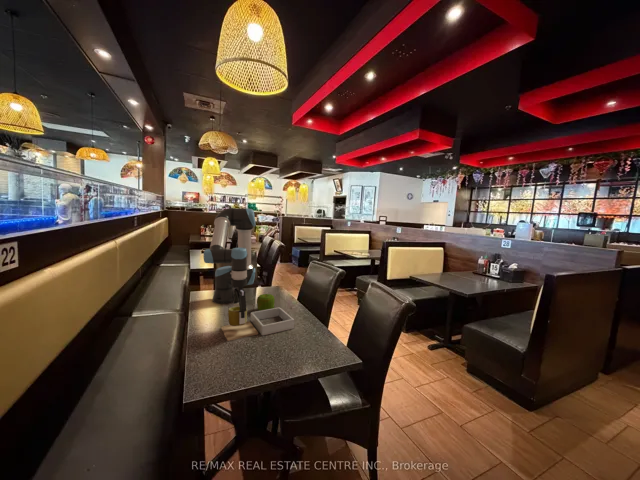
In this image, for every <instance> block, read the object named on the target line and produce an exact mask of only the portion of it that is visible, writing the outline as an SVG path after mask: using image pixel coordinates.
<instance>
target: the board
mask: <svg viewBox="0 0 640 480" xmlns="http://www.w3.org/2000/svg"><path fill="white" fill-rule="evenodd" d="M220 327H221V331H222V332H223V335H224V337H225V339H226V341H227V342H229V341H235V340H238V339H242V338H247V337H251V336H255V335H258V334H259V331H258V330H257V328H256V327H255V326H254V324H253V323H252V322H251V320H247V322H246V324H245V325H240V326H231V325H230V324H227V325H223V326H220Z"/></svg>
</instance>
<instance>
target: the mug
mask: <svg viewBox="0 0 640 480" xmlns="http://www.w3.org/2000/svg"><path fill="white" fill-rule="evenodd" d="M246 309H247V311H245V323H244V324H239V311H240V307H239V306H237V307H234V306H232V307H229V308H228V313H227V315H228V325H231V326H240V325H245V324H246V322H247V321H248V320H247V317H248V315H247V314H248V307H247V306H246Z"/></svg>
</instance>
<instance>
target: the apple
mask: <svg viewBox="0 0 640 480" xmlns="http://www.w3.org/2000/svg"><path fill="white" fill-rule="evenodd" d="M275 300H276V299H275V295H273V294H272V293H262V294H260V295H258V297H257V298H256V306H257V307H256V308H257V311H262V310H267V309H273V308H275Z"/></svg>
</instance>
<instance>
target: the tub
mask: <svg viewBox="0 0 640 480" xmlns="http://www.w3.org/2000/svg"><path fill="white" fill-rule="evenodd" d="M275 317H279V318H281V320H282V321H281V320H280V321H278V322H272V323H271V322H270V323H267V324H263V322H261V320H266V319H271V318H275ZM250 322H251V324H252V325H253V326H254V328H255V329H256V330H257V332H258V333H259V334H260V335H261V336H267V335H271V334H275V333H280V332H283V331H288V330H292V329H295V319H294V318H293V317H292V316H291V315H290V314H289V313H288V312H286V311H285V310H284V309H283V308H281V306H280V307H279V306H277V307H274V308H273V309H267V310H262V311H260V310H257V311H256V310H255V311H252V312H250Z"/></svg>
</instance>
